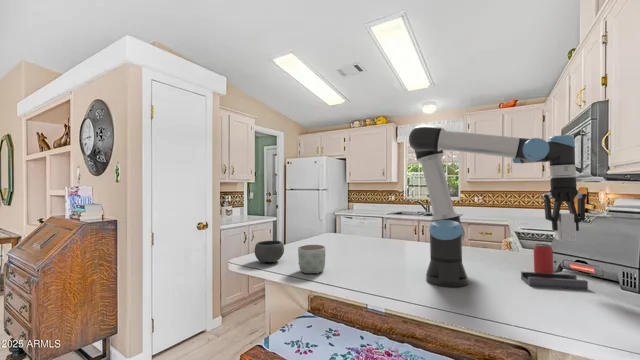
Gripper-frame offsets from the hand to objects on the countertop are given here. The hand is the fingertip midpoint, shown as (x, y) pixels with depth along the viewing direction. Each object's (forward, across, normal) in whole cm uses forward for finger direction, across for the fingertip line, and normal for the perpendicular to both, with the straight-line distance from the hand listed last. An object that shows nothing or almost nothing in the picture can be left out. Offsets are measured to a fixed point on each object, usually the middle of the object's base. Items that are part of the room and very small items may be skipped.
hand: (565, 239), depth 111 cm
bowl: (+16, -124, +5) cm, 126 cm away
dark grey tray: (+17, -4, +1) cm, 18 cm away
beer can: (+17, -2, +16) cm, 24 cm away
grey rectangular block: (0, 0, 0) cm, 0 cm away
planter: (+16, -98, -5) cm, 100 cm away
